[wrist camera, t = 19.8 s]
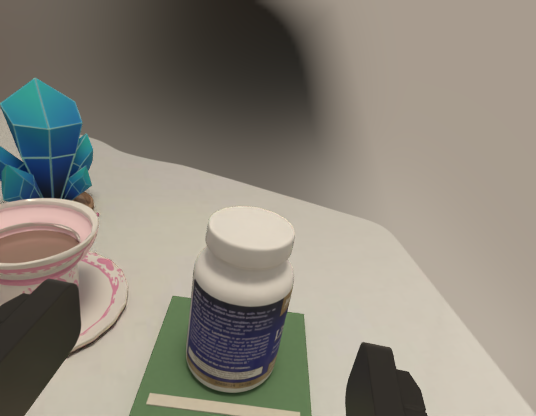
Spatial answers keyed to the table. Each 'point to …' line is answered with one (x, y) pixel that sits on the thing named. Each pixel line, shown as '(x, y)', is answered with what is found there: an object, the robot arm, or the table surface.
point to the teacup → (60, 259)
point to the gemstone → (45, 147)
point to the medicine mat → (212, 401)
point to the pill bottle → (239, 298)
